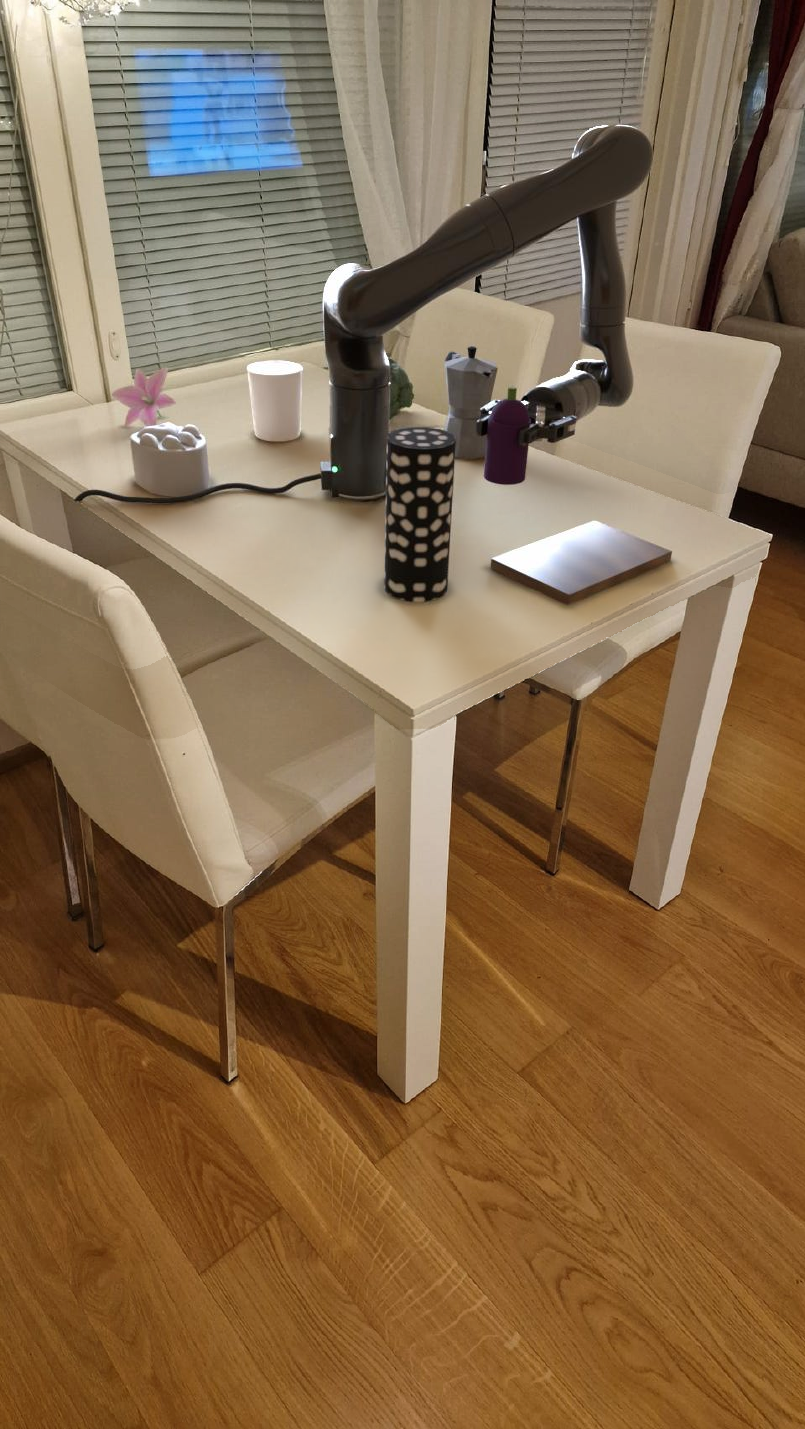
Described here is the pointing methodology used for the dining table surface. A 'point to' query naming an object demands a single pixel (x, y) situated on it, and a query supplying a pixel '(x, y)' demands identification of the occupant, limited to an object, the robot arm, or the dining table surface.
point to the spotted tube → (418, 512)
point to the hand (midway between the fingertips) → (500, 433)
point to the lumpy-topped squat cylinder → (170, 460)
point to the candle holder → (276, 399)
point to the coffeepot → (468, 400)
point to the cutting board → (580, 561)
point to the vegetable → (399, 389)
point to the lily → (144, 397)
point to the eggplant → (506, 441)
